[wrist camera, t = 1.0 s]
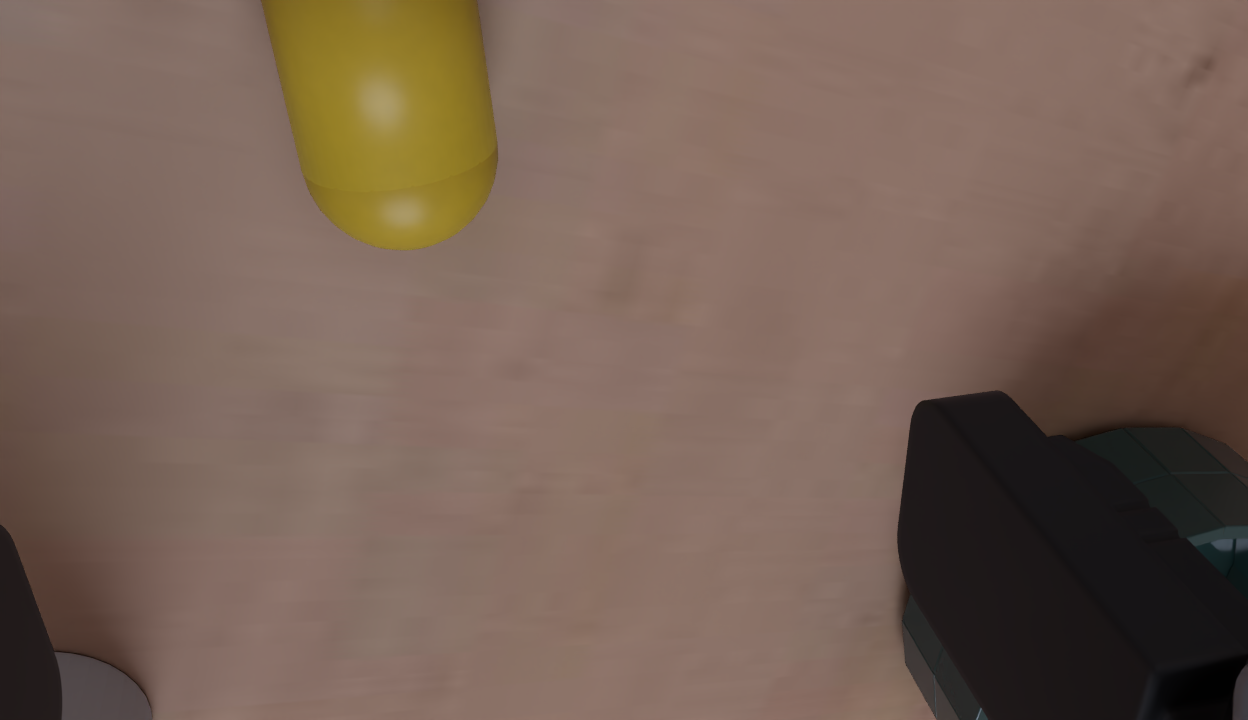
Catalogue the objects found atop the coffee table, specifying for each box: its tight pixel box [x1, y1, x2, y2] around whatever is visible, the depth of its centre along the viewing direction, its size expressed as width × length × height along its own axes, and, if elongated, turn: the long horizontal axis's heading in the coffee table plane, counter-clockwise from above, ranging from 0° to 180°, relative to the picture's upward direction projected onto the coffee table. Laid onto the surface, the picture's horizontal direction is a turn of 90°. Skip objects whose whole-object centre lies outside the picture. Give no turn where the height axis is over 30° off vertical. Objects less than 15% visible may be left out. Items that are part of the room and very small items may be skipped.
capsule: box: [261, 0, 498, 250], centre depth 26 cm, size 11×5×5 cm, turn 4°
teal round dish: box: [902, 427, 1248, 720], centre depth 40 cm, size 14×14×6 cm
